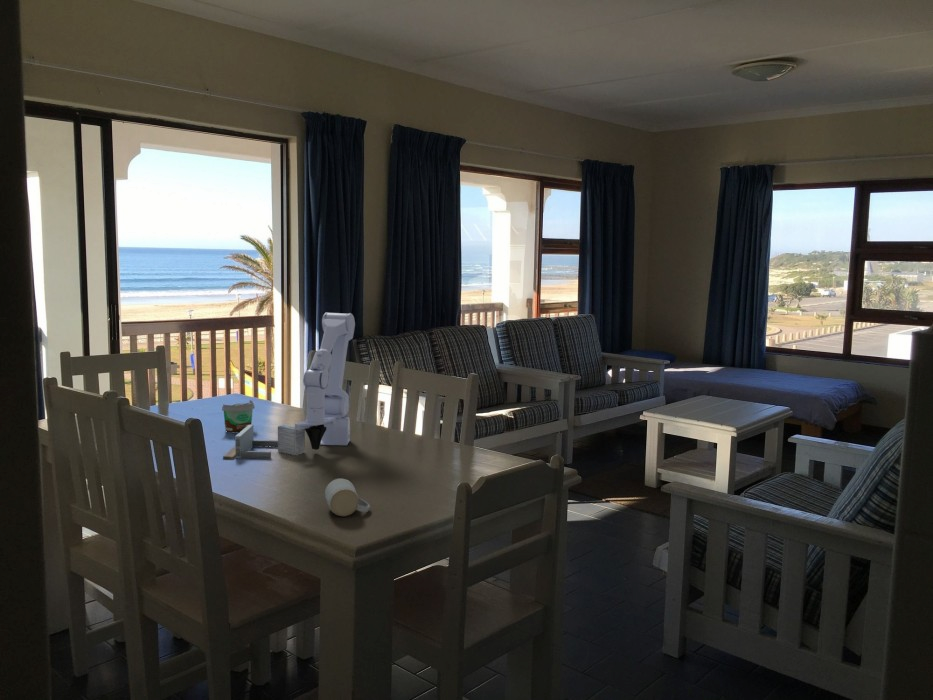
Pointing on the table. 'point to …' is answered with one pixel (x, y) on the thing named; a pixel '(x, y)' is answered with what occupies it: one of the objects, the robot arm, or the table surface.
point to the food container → (237, 416)
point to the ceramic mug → (344, 498)
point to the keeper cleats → (260, 453)
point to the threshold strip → (230, 454)
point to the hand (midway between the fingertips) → (315, 448)
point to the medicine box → (291, 440)
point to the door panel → (244, 440)
